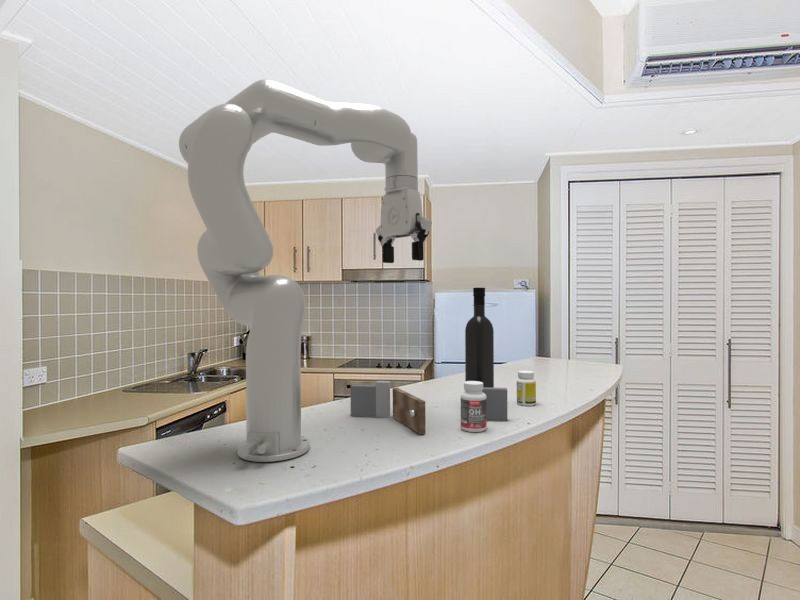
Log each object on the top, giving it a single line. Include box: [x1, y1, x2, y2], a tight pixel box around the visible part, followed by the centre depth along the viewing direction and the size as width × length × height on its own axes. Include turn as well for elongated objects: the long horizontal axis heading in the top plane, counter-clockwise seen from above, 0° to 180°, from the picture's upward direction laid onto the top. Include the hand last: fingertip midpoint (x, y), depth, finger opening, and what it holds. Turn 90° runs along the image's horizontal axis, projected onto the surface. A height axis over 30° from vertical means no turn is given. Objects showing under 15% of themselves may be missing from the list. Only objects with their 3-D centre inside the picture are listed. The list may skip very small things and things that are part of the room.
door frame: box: [350, 380, 508, 422], centre depth 104 cm, size 2×36×8 cm, turn 82°
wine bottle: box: [464, 287, 495, 388], centre depth 114 cm, size 6×6×30 cm
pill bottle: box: [460, 381, 488, 433], centre depth 95 cm, size 5×5×10 cm
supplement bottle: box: [516, 369, 537, 407], centre depth 117 cm, size 5×5×8 cm
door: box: [392, 387, 426, 435], centre depth 97 cm, size 15×2×6 cm, turn 22°
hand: (402, 261), depth 105 cm, fingers open, 9 cm apart
